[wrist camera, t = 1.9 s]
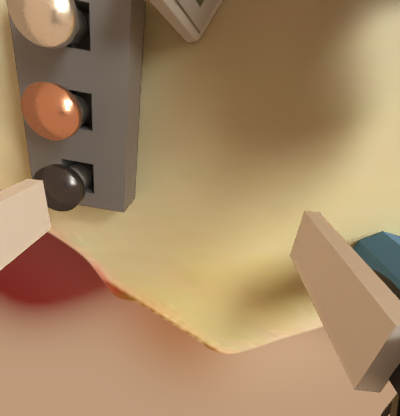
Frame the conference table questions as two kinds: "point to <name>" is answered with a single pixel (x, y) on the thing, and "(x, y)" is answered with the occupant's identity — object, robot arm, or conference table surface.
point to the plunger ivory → (49, 21)
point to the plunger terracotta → (54, 110)
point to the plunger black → (64, 185)
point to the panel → (93, 98)
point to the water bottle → (381, 254)
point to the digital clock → (188, 15)
